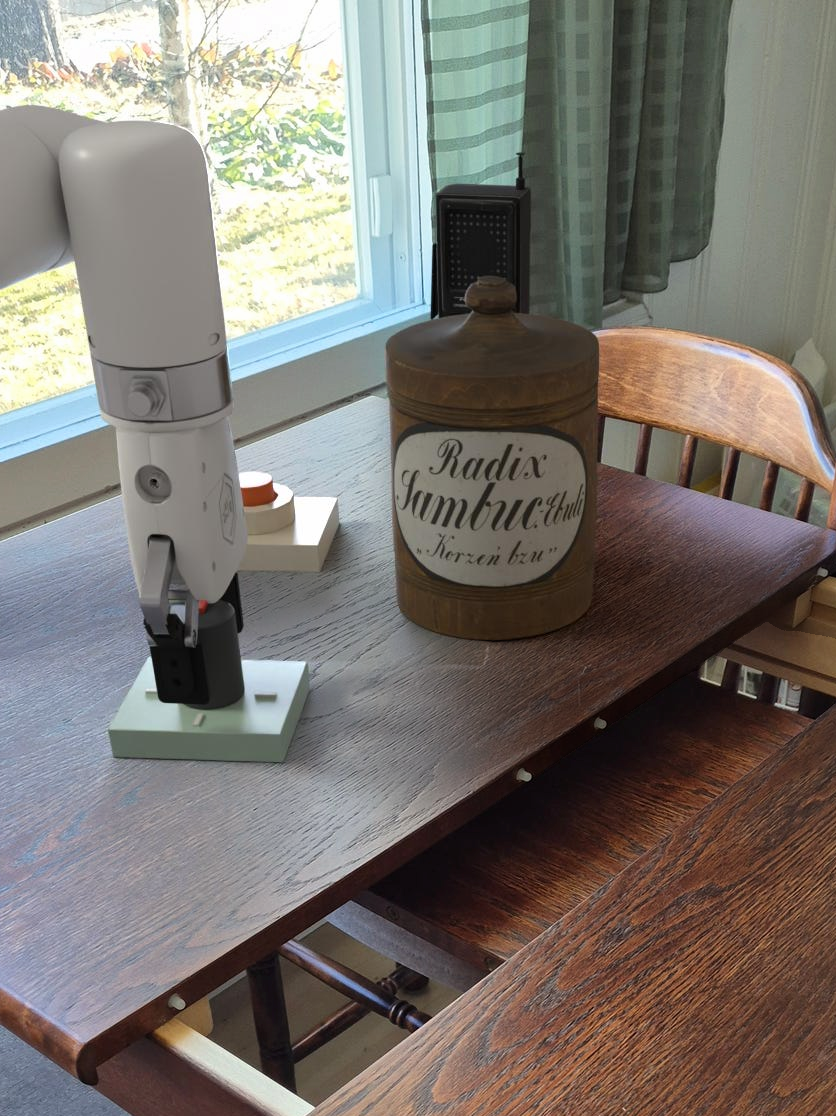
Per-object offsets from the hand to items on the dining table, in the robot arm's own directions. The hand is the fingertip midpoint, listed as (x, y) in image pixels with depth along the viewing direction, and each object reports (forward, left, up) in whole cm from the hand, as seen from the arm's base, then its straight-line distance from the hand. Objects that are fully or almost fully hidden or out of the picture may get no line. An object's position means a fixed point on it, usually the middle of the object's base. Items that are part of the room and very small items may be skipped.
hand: (203, 664), depth 92 cm
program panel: (0, 0, -4) cm, 4 cm away
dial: (0, 0, -2) cm, 2 cm away
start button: (-3, +29, 0) cm, 29 cm away
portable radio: (+14, +44, -4) cm, 46 cm away
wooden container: (+17, +20, -4) cm, 27 cm away
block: (-3, +29, -4) cm, 29 cm away
